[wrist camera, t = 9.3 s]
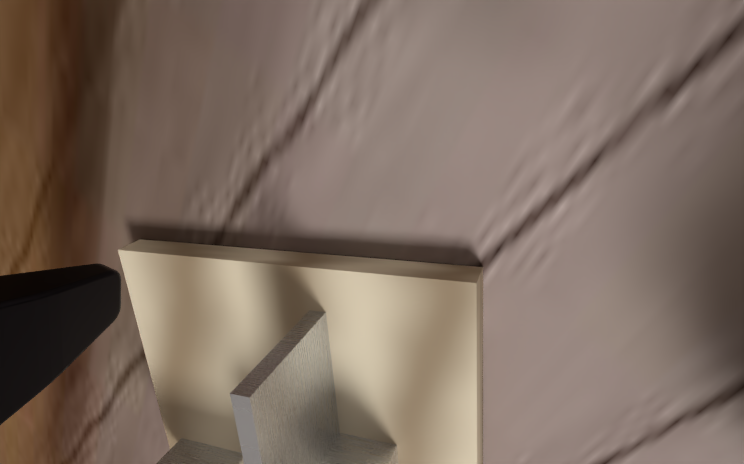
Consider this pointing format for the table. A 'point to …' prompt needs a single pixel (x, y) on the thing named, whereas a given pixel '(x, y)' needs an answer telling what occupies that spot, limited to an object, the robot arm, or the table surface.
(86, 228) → the table surface
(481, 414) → the beige panel with ridges
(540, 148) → the table surface
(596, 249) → the table surface
